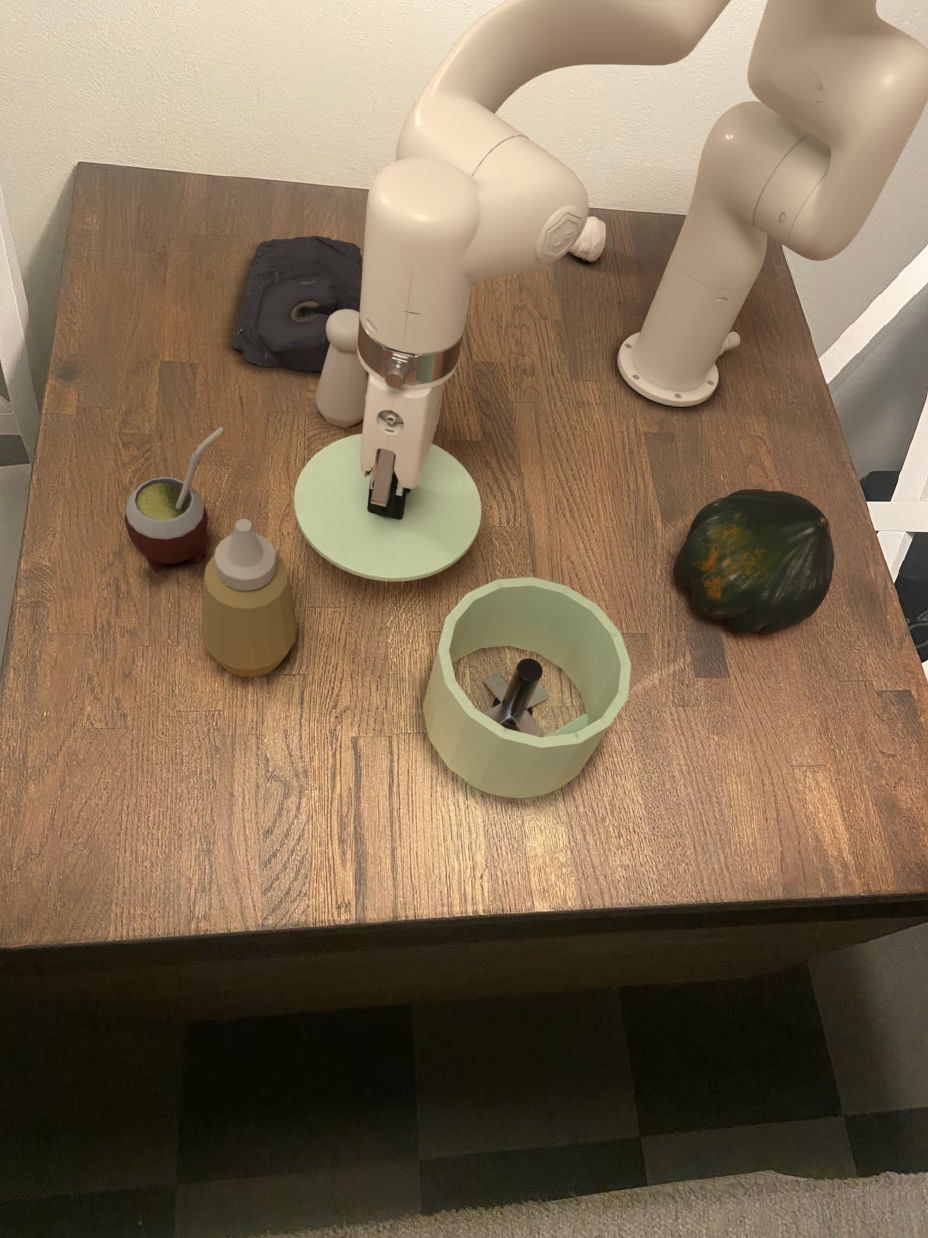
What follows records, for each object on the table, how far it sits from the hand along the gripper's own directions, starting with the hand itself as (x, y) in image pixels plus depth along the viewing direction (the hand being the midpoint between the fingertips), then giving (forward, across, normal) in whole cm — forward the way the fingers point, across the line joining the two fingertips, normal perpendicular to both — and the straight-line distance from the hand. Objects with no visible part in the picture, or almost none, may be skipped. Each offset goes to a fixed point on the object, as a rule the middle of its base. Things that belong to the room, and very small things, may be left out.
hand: (389, 499), depth 82 cm
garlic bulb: (+11, +57, -12) cm, 60 cm away
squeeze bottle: (+9, -13, +9) cm, 19 cm away
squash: (+10, +7, -36) cm, 38 cm away
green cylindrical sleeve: (+10, -13, -15) cm, 22 cm away
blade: (+9, -13, -15) cm, 22 cm away
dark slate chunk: (+10, +34, +17) cm, 39 cm away
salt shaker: (+10, +18, +9) cm, 22 cm away
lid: (+1, 0, 0) cm, 1 cm away
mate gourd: (+9, -5, +19) cm, 22 cm away
